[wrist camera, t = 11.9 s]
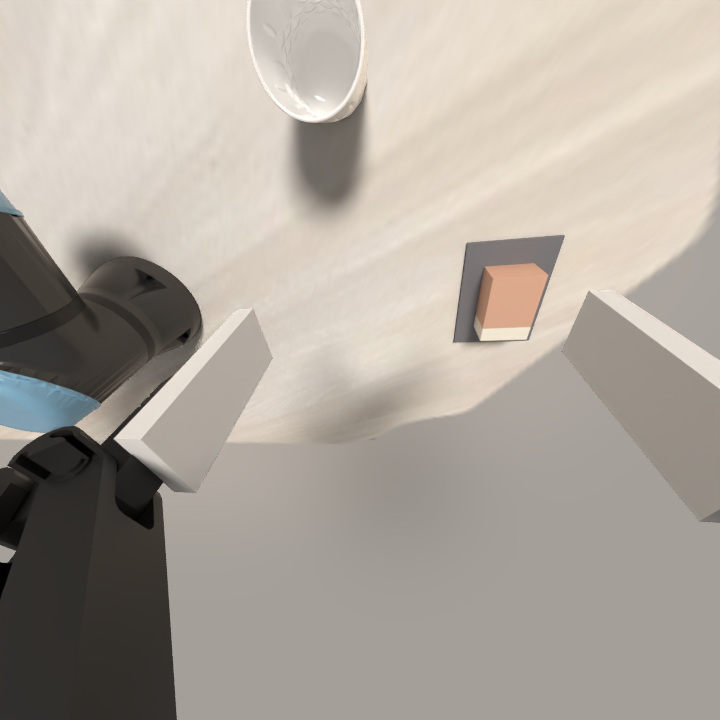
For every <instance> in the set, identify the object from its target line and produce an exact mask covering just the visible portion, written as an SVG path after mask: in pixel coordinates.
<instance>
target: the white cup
mask: <svg viewBox="0 0 720 720" xmlns="http://www.w3.org/2000/svg"><path fill="white" fill-rule="evenodd" d="M246 25H247V38H248V44H249V50H250V54H251V58H252V61H253V65H254V68H255V70H256V73H257V75H258V78H259V80H260V82H261V84H262V86H263V87H264V89H265V91H266V92H267V94H268V95H269V97H270V98H271V99H272V101H273V102H274V103H275V104H276V105H277V106H278V107H279V108H280V109H281V110H282V111H283V112H285V113H286V114H288V115H289V116H291V117H293V118H295V119H297V120H300V121H303V122H310V123H330V122H336V121H339V120H341V119H343V118H346V117H348V116H350V115H351V114H352V113H353V111H354V110H355V109H356V108H357V106H358V105H359V104H360V102H361V101H362V97H363V94H364V90H365V87H366V83H367V66H368V61H367V45H366V38H365V30H364V22H363V15H362V10H361V6H360V2H359V0H248V3H247V15H246Z"/></svg>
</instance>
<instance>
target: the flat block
mask: <svg viewBox="0 0 720 720" xmlns="http://www.w3.org/2000/svg"><path fill="white" fill-rule="evenodd" d="M547 278H548V274H546V273H545V272H544V271H543V270H542V269H541V268H539V267H538V266H537V265H536V264H535V263H530V264H516V265H501V266H486V267H484V272H483V277H482V283H481V288H480V294H479V299H478V304H477V310H476V315H475V321H474V328H475V330H476V333H477V335H478V337H479V339H480V341H495V340H527V337H528V334H529V331H530V328H531V325H532V322H533V319H534V316H535V313H536V310H537V307H538V304H539V301H540V298H541V296H542V293H543V290H544V287H545V284H546V281H547Z"/></svg>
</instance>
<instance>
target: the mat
mask: <svg viewBox="0 0 720 720" xmlns="http://www.w3.org/2000/svg"><path fill="white" fill-rule="evenodd" d="M564 237H565V236H564V235H558V236H545V237H533V238H521V239H508V240H496V241H484V242H472V243H467V247H466V254H465V262H464V269H463V276H462V284H461V291H460V299H459V306H458V313H457V321H456V328H455V336H454V342H483V341H480V339H479V337H478V335H477V333H476V330H475V328H474V321H475V315H476V310H477V304H478V299H479V294H480V288H481V283H482V277H483V272H484V267H486V266H501V265H516V264H530V263H535V264H536V265H537V266H538V267H539V268H541V269H542V270H543V271H544V272H545V273H546V274H548V278H547V281H546V284H545V287H544V290H543V293H542V296H541V298H540V301H539V304H538V307H537V310H536V313H535V316H534V319H533V322H532V325H531V328H530V331H529V334H528V337H527V340H529V338H530V335H531V332H532V329H533V326H534V323H535V320H536V318H537V315H538V312H539V309H540V306H541V303H542V300H543V297H544V294H545V292H546V289H547V286H548V283H549V280H550V277H551V274H552V271H553V269H554V266H555V263H556V260H557V257H558V254H559V251H560V248H561V245H562V243H563V240H564ZM495 341H516V340H495Z"/></svg>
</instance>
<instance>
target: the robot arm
mask: <svg viewBox="0 0 720 720" xmlns="http://www.w3.org/2000/svg"><path fill="white" fill-rule="evenodd" d="M23 217H24V215H23V214H22V213H21V212H20V211H19V210H17V209H15V207H14V206H13V205H12V204H11V203H10V201H9V200H8V199H7V198H6V197H5V195H4V194H3V193H2V192H1V190H0V425H3V426H6V427H10V428H14V429H19V430H24V431H30V432H40V433H46V434H44V435H42V436H40V437H38V438H36V439H35V440H33V441H32V442H30V443H29V444H27V445H26V446H25V447H24V448H22V449H21V450H20V451H19V452H18V453H17V454H16V455H15V456H14V457H13V458H12V460H11V461H10V462H9V464H8V466H9V467H11V468H8V467H6V468H1V469H0V545H2V546H5V547H7V548H10V549H13V550H16V552H15V554H14V556H13V557H12V558H11V559H10V561H9V562H8V563H1V562H0V720H177V719H176V718H177V716H176V702H175V687H174V673H173V656H172V641H171V627H170V611H169V597H168V581H167V566H166V553H165V538H164V537H165V536H164V521H163V507H162V498H161V495H160V493H158V492H157V490H158V489H159V487H160V486H161V484H162V483H165V484H166V485H167V486H168V487H169V488H170V489H171V490H173V491H174V492H189V493H196V492H197V491H198V489H199V487H200V485H201V483H202V482H203V480H204V478H205V476H206V475H207V473H208V471H209V469H210V468H211V466H212V464H213V462H214V461H215V459H216V457H217V455H218V454H219V452H220V450H221V448H222V447H223V445H224V443H225V441H226V440H227V438H228V436H229V434H230V433H231V431H232V429H233V427H234V426H235V424H236V422H237V420H238V418H239V417H240V415H241V413H242V411H243V410H244V408H245V406H246V404H247V403H248V401H249V399H250V397H251V396H252V394H253V392H254V390H255V389H256V387H257V385H258V383H259V381H260V380H261V378H262V376H263V374H264V373H265V371H266V369H267V367H268V366H269V364H270V362H271V360H272V359H273V358H272V355H271V352H270V350H269V347H268V345H267V342H266V340H265V337H264V335H263V332H262V330H261V327H260V325H259V322H258V320H257V317H256V315H255V312H254V310H253V309H237V310H236V311H235V312H234V313H233V314H232V315H231V316H230V317H229V318H228V319H227V320H226V321H225V322H224V323H223V324H222V326H221V327H220V328H219V329H218V330H217V331H216V332H215V333H214V334H213V335H212V336H211V337H210V338H209V339H208V340H207V341H206V342H205V343H204V344H203V345H202V347H201V348H200V349H199V350H198V351H197V352H196V353H195V354H194V355H193V356H192V357H191V358H190V359H189V360H188V361H187V362H186V363H185V364H184V365H183V366H182V367H181V369H180V370H179V371H178V372H177V373H176V374H174V375H173V376H171V377H170V378H168V379H167V380H165V381H164V382H163V383H161V384H160V385H159V386H158V387H157V388H156V389H155V390H154V391H153V392H152V393H151V394H150V397H147V398H146V399H145V400H144V401H143V402H142V404H141V407H138V408H137V409H136V410H135V411H134V412H133V413H132V414H131V415H130V416H129V417H128V418H127V419H126V420H125V421H124V422H123V423H122V424H121V425H120V426H119V427H118V428H117V429H116V430H115V431H114V432H113V433H112V434H111V435H110V436H109V437H108V438H107V439H106V440H105V441H104V442H103V443H102V444H101V445H100V444H98V443H97V442H96V441H95V440H93V439H92V438H91V437H90V436H88V435H87V434H86V433H85V432H84V431H82V430H81V429H80V428H78V427H76V426H74V425H75V424H76V423H78V422H79V421H80V420H82V419H83V418H84V417H85V416H87V415H88V414H89V413H91V412H92V411H93V410H95V409H97V408H99V407H100V405H101V403H102V402H103V401H104V400H106V399H107V398H108V397H109V396H110V395H111V394H112V393H113V392H115V391H116V390H117V389H118V388H119V387H120V386H121V385H122V384H124V383H125V382H126V381H127V380H128V379H129V378H130V377H131V376H133V375H134V374H135V373H136V372H137V371H138V370H139V369H140V368H141V367H143V366H144V365H145V364H146V363H147V362H148V361H149V360H150V359H152V358H153V357H154V356H157V355H159V354H162V353H164V352H167V351H169V350H172V349H174V348H177V347H179V346H182V345H184V344H185V343H187V342H188V341H189V340H190V339H191V338H192V337H193V336H194V335H196V333H197V332H198V330H199V328H200V324H201V317H200V312H199V309H198V306H197V304H196V302H195V300H194V298H193V297H192V295H191V294H190V292H189V291H188V290H187V288H186V287H185V286H184V285H183V284H182V283H181V282H180V281H179V280H178V279H177V278H176V277H174V276H173V275H172V274H171V273H169V272H168V271H166V270H165V269H163V268H162V267H160V266H158V265H156V264H154V263H152V262H150V261H147V260H144V259H141V258H136V257H119V258H116V259H113V260H111V261H109V262H106V263H104V264H102V265H101V266H99V267H98V268H97V269H96V270H95V271H94V272H93V273H92V274H91V276H90V277H89V278H88V279H87V280H86V281H85V283H84V284H83V285H82V286H81V287H80V288H79V290H78V291H77V292H76V290H75V289H74V287H73V286H72V285H71V283H70V282H69V281H68V279H67V278H66V277H65V275H64V274H63V273H62V271H61V270H60V268H59V267H58V266H57V264H56V263H55V262H54V260H53V259H52V258H51V256H50V255H49V253H48V252H47V251H46V249H45V248H44V246H43V245H42V244H41V242H40V241H39V240H38V238H37V237H36V235H35V234H34V233H33V231H32V230H31V228H30V227H29V226H28V224H27V223H26V221H25V220H24V219H23ZM562 353H563V354H564V355H565V356H566V358H567V359H568V360H569V361H570V363H572V365H573V366H574V367H575V369H576V370H577V371H578V372H579V374H580V375H581V376H582V377H583V378H584V380H585V381H586V382H587V384H588V385H589V386H590V387H591V389H592V390H593V391H594V392H595V393H596V395H597V396H598V397H599V398H600V400H601V401H602V402H603V403H604V404H605V406H606V407H607V408H608V409H609V411H610V412H611V413H612V414H613V416H614V417H615V418H616V419H617V421H618V422H619V423H620V424H621V425H622V427H623V428H624V429H625V430H626V432H627V433H628V434H629V435H630V437H631V438H632V439H633V440H634V442H635V443H636V444H637V445H638V447H639V448H640V449H641V450H642V451H643V453H644V454H645V455H646V456H647V458H648V459H649V460H650V461H651V463H652V464H653V465H654V466H655V467H656V469H657V470H658V471H659V472H660V474H661V475H662V476H663V477H664V479H665V480H666V481H667V482H668V483H669V485H670V486H671V487H672V488H673V490H674V491H675V492H676V493H677V495H678V496H679V497H680V498H681V500H682V501H683V502H684V503H685V504H686V506H687V507H688V508H689V509H690V511H691V512H692V513H693V514H694V515H695V517H696V518H697V519H698V521H701V522H718V523H720V361H719V360H718V359H716V358H715V357H713V356H712V355H710V354H709V353H707V352H706V351H704V350H703V349H701V348H700V347H698V346H697V345H695V344H694V343H692V342H691V341H689V340H688V339H686V338H685V337H683V336H682V335H680V334H679V333H677V332H676V331H674V330H673V329H671V328H669V327H668V326H667V325H665V324H664V323H662V322H660V321H659V320H658V319H656V318H654V317H653V316H652V315H650V314H649V313H647V312H646V311H644V310H642V309H641V308H639V307H638V306H637V305H635V304H634V303H632V302H630V301H629V300H627V299H626V298H624V297H623V296H621V295H620V294H618V293H617V292H615V291H614V290H597V291H589V292H588V294H587V296H586V298H585V301H584V303H583V305H582V307H581V309H580V312H579V314H578V316H577V318H576V320H575V323H574V325H573V327H572V329H571V331H570V334H569V336H568V338H567V340H566V342H565V345H564V347H563V349H562ZM12 468H13V469H12Z"/></svg>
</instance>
